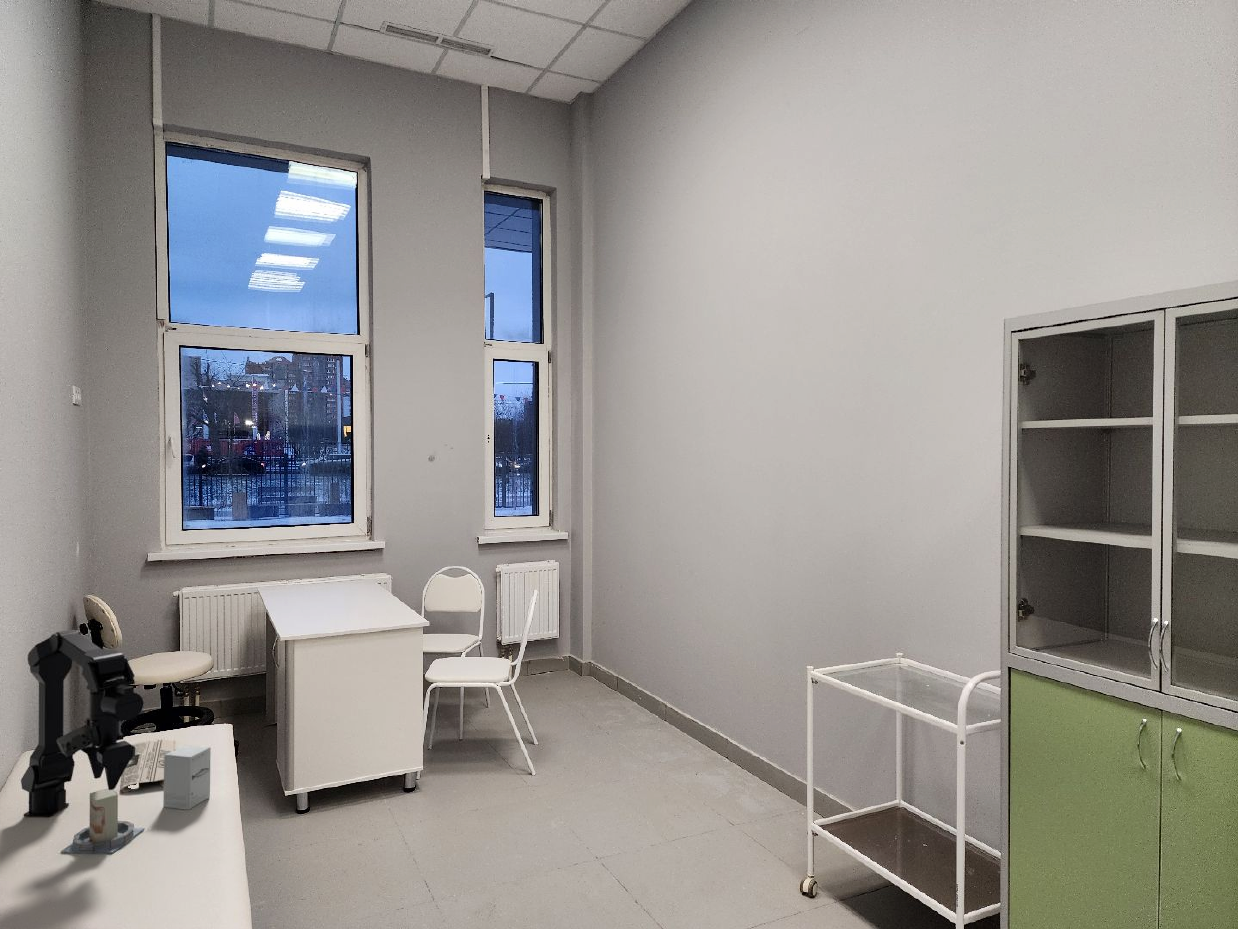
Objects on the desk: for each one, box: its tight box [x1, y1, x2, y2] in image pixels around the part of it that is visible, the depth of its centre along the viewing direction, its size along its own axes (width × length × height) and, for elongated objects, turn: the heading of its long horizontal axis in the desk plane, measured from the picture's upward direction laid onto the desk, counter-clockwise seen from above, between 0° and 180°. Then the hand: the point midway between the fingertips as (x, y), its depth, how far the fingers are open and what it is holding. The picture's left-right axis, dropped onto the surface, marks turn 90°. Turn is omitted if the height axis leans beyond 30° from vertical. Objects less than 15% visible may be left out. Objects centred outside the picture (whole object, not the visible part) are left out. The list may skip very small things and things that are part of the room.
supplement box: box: [162, 744, 212, 810], centre depth 192 cm, size 7×7×13 cm
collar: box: [60, 820, 146, 855], centre depth 172 cm, size 11×11×2 cm
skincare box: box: [89, 788, 119, 842], centre depth 172 cm, size 5×4×10 cm
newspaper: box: [119, 738, 177, 793], centre depth 215 cm, size 35×12×4 cm, turn 30°
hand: (104, 783), depth 172 cm, fingers open, 9 cm apart
